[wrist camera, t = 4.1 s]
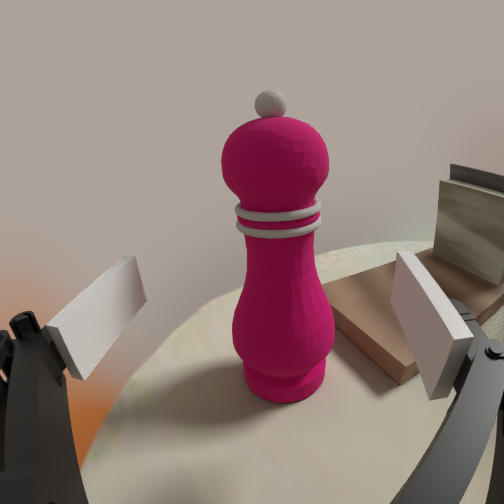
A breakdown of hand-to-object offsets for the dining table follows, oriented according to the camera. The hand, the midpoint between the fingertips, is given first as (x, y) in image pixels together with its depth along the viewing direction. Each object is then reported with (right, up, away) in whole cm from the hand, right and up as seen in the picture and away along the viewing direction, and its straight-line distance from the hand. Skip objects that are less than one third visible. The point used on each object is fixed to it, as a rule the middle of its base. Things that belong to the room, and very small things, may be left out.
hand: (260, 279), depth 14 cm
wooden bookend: (+19, -4, +15) cm, 25 cm away
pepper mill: (+2, -8, +8) cm, 12 cm away
